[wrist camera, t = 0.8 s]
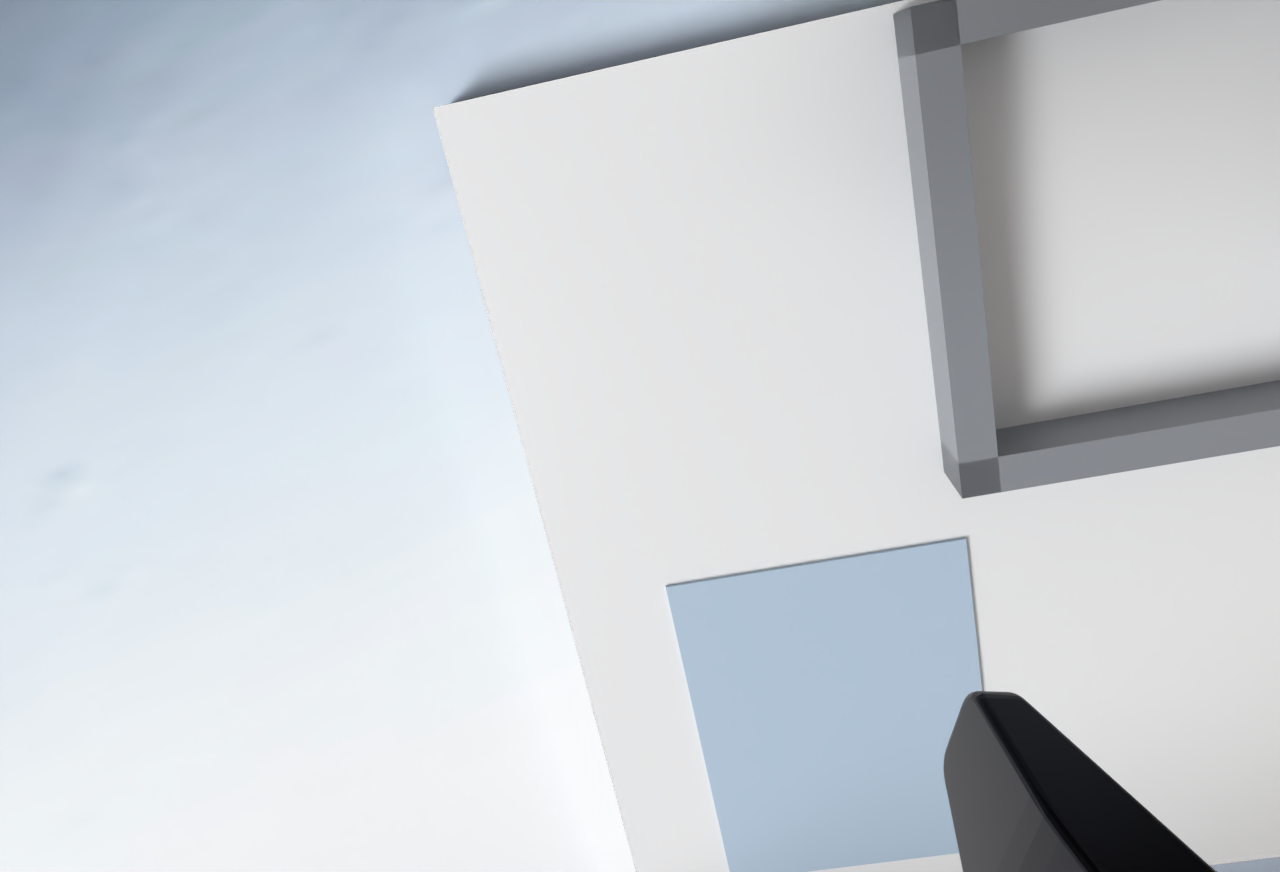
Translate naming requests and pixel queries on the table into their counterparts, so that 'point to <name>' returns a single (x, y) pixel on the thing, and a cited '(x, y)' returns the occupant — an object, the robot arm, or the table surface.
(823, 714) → the base plate
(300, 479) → the table surface
